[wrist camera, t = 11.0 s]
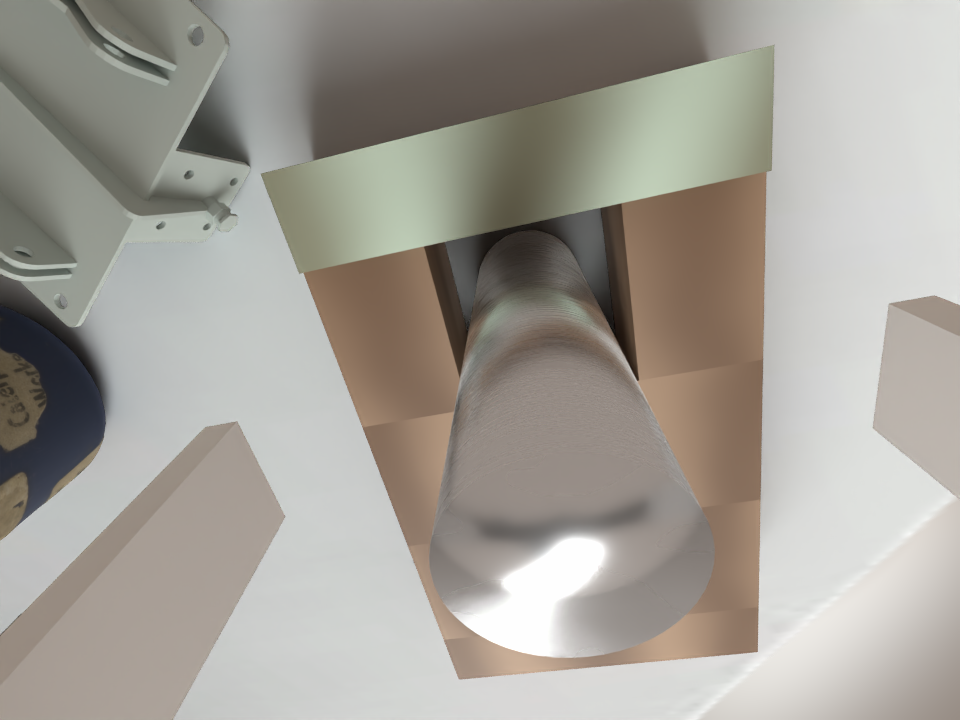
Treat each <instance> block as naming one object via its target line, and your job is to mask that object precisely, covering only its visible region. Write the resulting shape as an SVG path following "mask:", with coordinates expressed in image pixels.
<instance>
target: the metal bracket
mask: <svg viewBox="0 0 960 720" xmlns="http://www.w3.org/2000/svg"><path fill="white" fill-rule="evenodd" d="M196 27H201V29H202V30H203V34H204V38H203V42H202V43H201V44H200V45H199V46H195V44H194V43H193V40H192V34H193V31H194V29H195V28H196ZM229 47H230V45H229V38H228V37H227V35H226V34H225V32H224V31H223V30H222V29H221V28H220V27H218V26H217V25H216V24H215V23H214V22H213V21H212V20H211V19H210V18H209V17H208V16H207V15H206V14H204V13H203V12H202V11H201V10H200V9H199V8H198V7H197V6H196V5H195V4H194V3H193V2H192V1H191V0H0V274H2V275H4V276H6V277H8V278H11V279H14V280H19V281H20V282H21V283H22V284H23V285H24V286H25V287H26V288H27V289H28V290H29V291H30V292H32V293H33V294H34V295H35V296H36V297H37V298H38V299H39V300H40V301H41V302H42V303H43V304H44V305H45V306H46V307H48V308H49V309H50V310H51V311H52V312H53V313H54V314H55V315H56V316H57V317H58V318H59V319H60V320H61V321H62V322H63V323H65V324H66V325H67V326H69V327H78V326H80V325H82V324H83V322H84V320H85V318H86V316H87V315H88V313H89V311H90V309H91V307H92V305H93V303H94V302H95V300H96V298H97V296H98V294H99V292H100V290H101V288H102V287H103V285H104V283H105V281H106V279H107V277H108V275H109V274H110V272H111V270H112V268H113V266H114V264H115V262H116V261H117V259H118V257H119V255H120V253H121V251H122V249H123V247H124V246H125V244H126V243H151V242H204V241H206V240H208V239H209V238H210V237H211V235H212V234H213V232H214V230H215V229H216V227H217V226H218V230H219V231H220V232H229V231H230V230H231V229H232V228H234V227H235V226H236V225H237V221H238V216H237V215H236V214H231V213H230V211H231V209H230V208H228V207H229V206H230V204H231V202H232V201H233V199H234V197H235V196H236V194H237V192H238V191H239V189H240V187H241V186H242V184H243V183H244V181H245V179H246V178H247V176H248V174H249V172H250V167H249V166H248V165H247V164H246V163H244V162H240V161H235V160H231V159H226V158H221V157H217V156H212V155H207V154H203V153H198V152H193V151H189V150H184V149H179V148H177V147H178V145H179V143H180V141H181V139H182V137H183V136H184V134H185V132H186V130H187V128H188V126H189V124H190V123H191V121H192V119H193V117H194V115H195V113H196V111H197V110H198V108H199V106H200V104H201V102H202V100H203V98H204V96H205V95H206V93H207V91H208V89H209V87H210V85H211V83H212V82H213V80H214V78H215V76H216V74H217V72H218V70H219V69H220V67H221V65H222V63H223V61H224V59H225V57H226V55H227V54H228V50H229ZM189 170H190V172H189V173H188V174H187V175H185V173H186V172H187V171H189ZM184 175H185V176H184ZM232 179H234V180H233V181H232V182H231V180H232ZM161 221H162V222H161ZM159 222H161V223H160V224H159V225H157V224H158V223H159ZM207 223H208V224H207ZM206 224H207V225H206ZM156 225H157V226H156ZM205 225H206V226H205ZM60 295H63V296H64V297H65V299H66V301H67V306H66V308H64V307H63V306H62V305H61V303H60V300H59V299H60Z"/></svg>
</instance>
